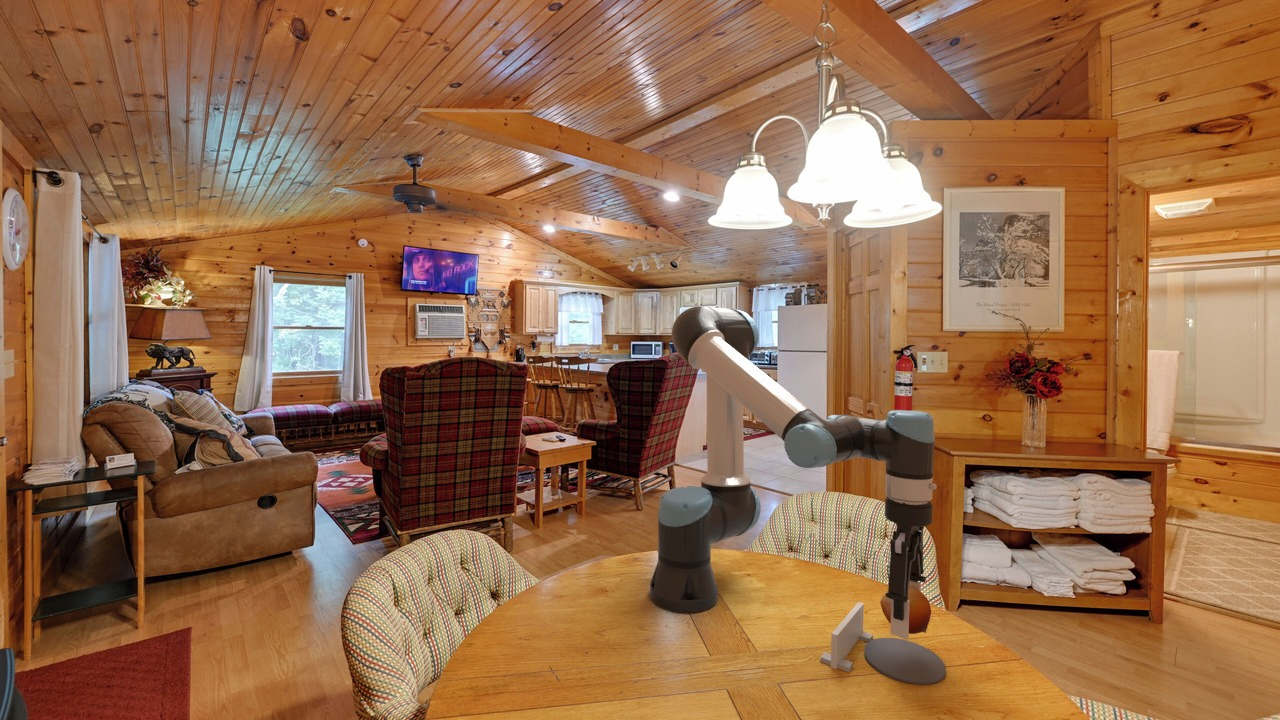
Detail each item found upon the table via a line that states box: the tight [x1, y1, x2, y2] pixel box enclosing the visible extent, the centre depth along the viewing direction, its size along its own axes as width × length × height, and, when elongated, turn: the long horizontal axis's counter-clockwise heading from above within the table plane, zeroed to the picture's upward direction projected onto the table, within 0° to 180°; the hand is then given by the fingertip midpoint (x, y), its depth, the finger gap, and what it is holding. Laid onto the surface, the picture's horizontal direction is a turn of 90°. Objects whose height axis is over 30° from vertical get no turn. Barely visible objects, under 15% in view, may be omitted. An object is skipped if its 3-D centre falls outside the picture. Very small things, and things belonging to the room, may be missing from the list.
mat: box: [863, 637, 947, 686], centre depth 96 cm, size 13×13×1 cm
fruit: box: [880, 587, 932, 635], centre depth 96 cm, size 8×8×8 cm
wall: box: [820, 601, 874, 673], centre depth 100 cm, size 5×15×6 cm, turn 141°
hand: (905, 625), depth 96 cm, fingers closed on fruit, 8 cm apart
